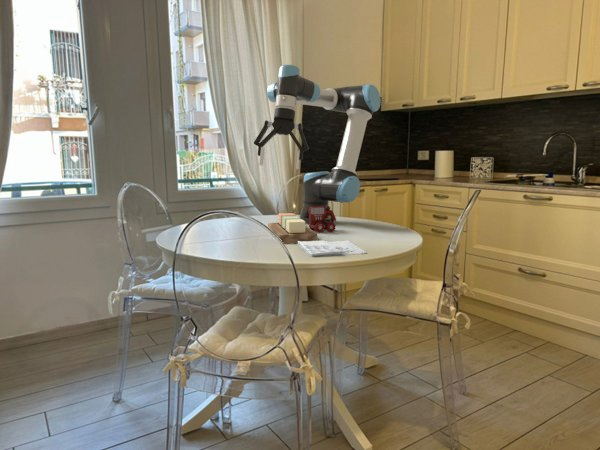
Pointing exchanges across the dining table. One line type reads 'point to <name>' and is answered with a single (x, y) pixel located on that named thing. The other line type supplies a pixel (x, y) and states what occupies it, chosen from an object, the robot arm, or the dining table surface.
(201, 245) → the dining table surface
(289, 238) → the board
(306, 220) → the robot arm
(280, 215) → the salmon orange square block
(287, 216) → the pale green square block
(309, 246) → the printed paper napkins
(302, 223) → the cream yellow square block
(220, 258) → the dining table surface
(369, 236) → the dining table surface
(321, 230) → the toy fire truck
